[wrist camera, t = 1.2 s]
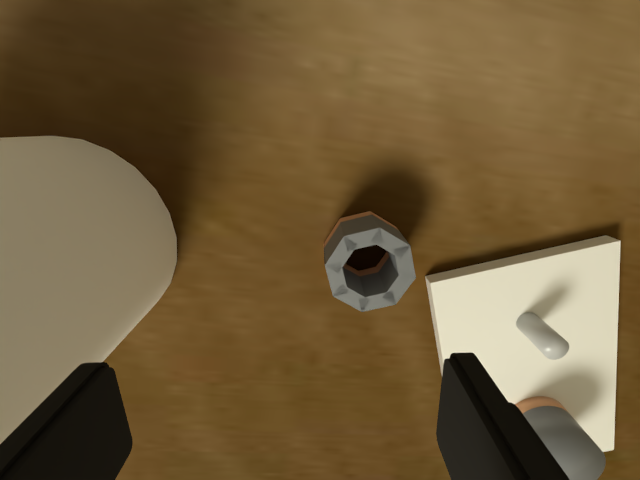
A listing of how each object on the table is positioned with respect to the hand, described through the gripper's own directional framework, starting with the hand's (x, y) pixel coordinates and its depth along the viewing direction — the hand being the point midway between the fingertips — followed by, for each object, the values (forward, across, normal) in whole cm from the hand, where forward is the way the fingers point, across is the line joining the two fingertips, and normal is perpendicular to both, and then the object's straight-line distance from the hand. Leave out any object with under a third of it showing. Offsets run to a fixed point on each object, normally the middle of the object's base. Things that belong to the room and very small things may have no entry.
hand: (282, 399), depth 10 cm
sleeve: (+21, -5, +3) cm, 21 cm away
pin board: (+21, -21, +16) cm, 34 cm away
